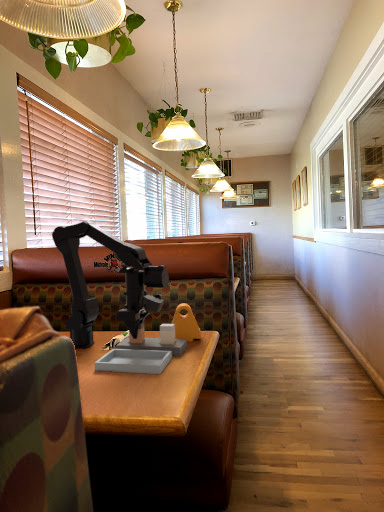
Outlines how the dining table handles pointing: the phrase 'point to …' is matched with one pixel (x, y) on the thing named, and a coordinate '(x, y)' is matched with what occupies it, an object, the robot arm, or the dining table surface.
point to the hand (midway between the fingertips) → (136, 337)
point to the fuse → (167, 334)
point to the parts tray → (134, 361)
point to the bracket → (185, 324)
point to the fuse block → (155, 345)
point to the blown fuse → (140, 334)
